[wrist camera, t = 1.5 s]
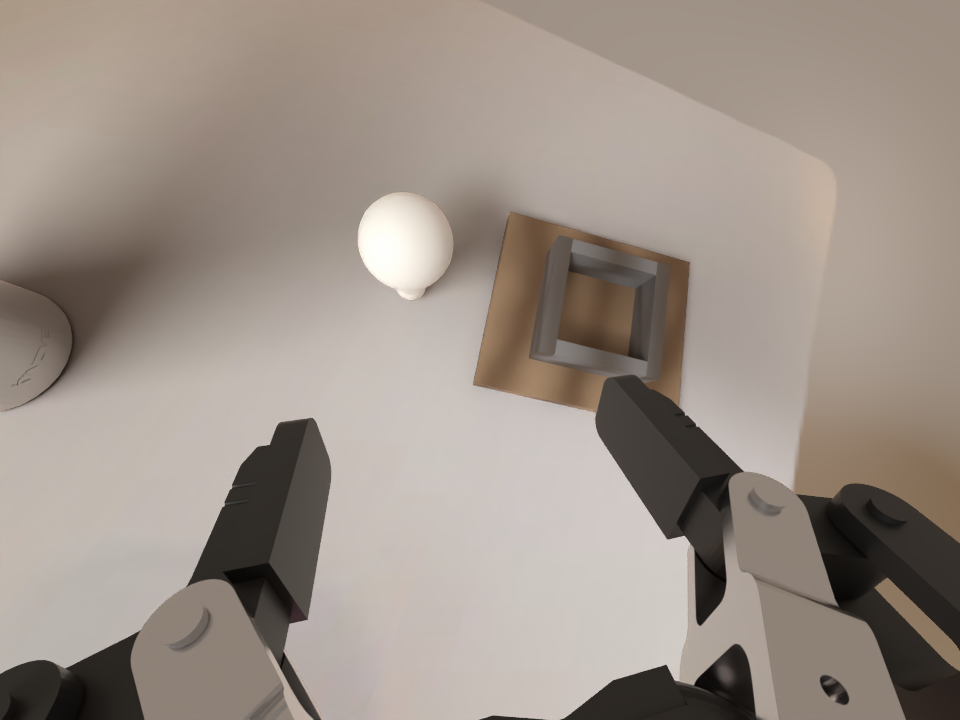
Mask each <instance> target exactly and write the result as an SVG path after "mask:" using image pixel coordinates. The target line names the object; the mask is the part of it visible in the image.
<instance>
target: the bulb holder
mask: <svg viewBox="0 0 960 720" xmlns="http://www.w3.org/2000/svg"><path fill="white" fill-rule="evenodd" d="M689 264H690V262H686V261H683V260H679V259H676V258H672V257H669V256H665V255H661V254H658V253H654V252H651V251H647V250H644V249H640V248H637V247H633V246H629V245H626V244H622V243H619V242H615V241H612V240H608V239H605V238H601V237H597V236H594V235H590V234H587V233H583V232H580V231H576V230H573V229H569V228H566V227H562V226H558V225H555V224H551V223H548V222H544V221H541V220H537V219H534V218H530V217H526V216H523V215H519V214H516V213H512V212H510V215H509V218H508V220H507V224H506V228H505V233H504V238H503V243H502V248H501V252H500V257H499V262H498V267H497V272H496V276H495V281H494V286H493V291H492V296H491V300H490V305H489V310H488V315H487V320H486V324H485V329H484V334H483V339H482V344H481V348H480V353H479V358H478V363H477V368H476V372H475V377H474V382H473V385H476V386H481V387H485V388H489V389H494V390H498V391H503V392H507V393H512V394H516V395H521V396H525V397H530V398H534V399H539V400H543V401H547V402H552V403H556V404H561V405H565V406H570V407H574V408H579V409H583V410H588V411H592V412H597V409H598V405H599V401H600V396H601V392H602V388H603V384H604V381H605V380H606V379H607V378H609V377H616V376H624V375H631V374H633V375H636V376H637V377H638V378H639V379H640V380H641V381H642V382H643V383H644V384H645V385H646V386H647V387H648V388H649V389H650V390H651V389H654V390H656V391H658V392H659V393H661V394H663V395H664V396H666V397H668V398H670V399H671V400H672V401H673V402H674V403H675V404H676V405H677V406H678V407H679V395H680V382H681V369H682V356H683V343H684V330H685V317H686V304H687V291H688V278H689Z"/></svg>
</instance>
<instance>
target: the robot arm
mask: <svg viewBox="0 0 960 720" xmlns="http://www.w3.org/2000/svg"><path fill="white" fill-rule="evenodd" d="M71 347H72V332H71V327H70V324H69V322H68V319H67V317H66V315H65V314H64V312H63V311H62V310H61V309H60V308H59V307H58V305H57V304H55V303H54V302H52V301H51V300H50V299H48V298H47V297H45V296H43V295H40V294H38V293H36V292H33V291H30V290H27V289H25V288H22V287H19V286H16V285H13V284H10V283H8V282H5V281H2V280H0V411H5V410H8V409H11V408H14V407H17V406H20V405H22V404H24V403H26V402H28V401H29V400H31V399H33V398H35V397H37V396H38V395H39V394H40V393H42V392H43V391H44V390H46V389H47V388H48V387H49V386H50V385H51V384H52V383H53V382H54V381H55V380H56V379H57V378H58V376H59V375H60V374H61V372H62V370H63V369H64V367H65V365H66V364H67V361H68V358H69V355H70V352H71ZM595 421H596V428H597V432H598V434H599V436H600V438H601V440H602V441H603V443H604V444H605V446H606V447H607V449H608V450H609V452H610V453H611V455H612V456H613V458H614V459H615V461H616V462H617V464H618V465H619V467H620V468H621V470H622V471H623V473H624V474H625V476H626V477H627V479H628V481H629V482H630V484H631V485H632V487H633V488H634V490H635V491H636V493H637V494H638V496H639V497H640V499H641V500H642V502H643V503H644V505H645V506H646V508H647V509H648V511H649V512H650V514H651V515H652V517H653V518H654V520H655V521H656V523H657V525H658V526H659V528H660V529H661V531H662V532H663V534H664V535H665V537H666V538H667V539H672V538H676V537H681V536H686V538H687V539H688V541H689V542H690V545H689V548H688V553H687V558H688V631H687V638H686V642H685V645H684V648H683V652H682V657H681V664H680V682H679V681H674V679H673V677H672V675H671V673H670V671H669V669H668V667H667V665H664V666H661V667H657V668H654V669H651V670H647V671H644V672H640V673H637V674H634V675H630V676H627V677H623V678H620V679H616V680H613V681H612V682H611V683H609V684H608V685H607V686H605V687H604V688H603V689H602V690H600V691H599V692H598V693H597V694H595V695H594V696H593V697H591V698H590V699H589V700H588V701H586V702H585V703H584V704H583V705H581V706H580V707H579V708H577V709H576V710H575V711H574V712H572V713H571V714H570V715H569V716H567V717H566V718H564V719H561V720H960V671H958V670H957V669H955V668H954V667H952V666H951V665H950V664H948V663H947V662H946V661H945V660H944V659H943V658H942V657H941V656H940V655H939V654H938V653H937V652H936V651H935V650H934V649H933V648H932V647H931V646H930V645H929V644H928V643H927V642H926V641H925V640H924V639H923V638H922V636H921V635H920V634H919V633H918V632H917V631H916V630H915V629H914V628H913V627H912V626H911V625H910V624H909V623H908V622H907V621H906V620H905V619H904V618H903V617H902V616H901V615H900V614H899V613H898V612H897V611H896V610H895V609H894V608H893V607H892V606H891V605H890V604H889V603H888V602H887V601H886V600H885V599H884V598H883V597H882V595H881V594H880V593H879V592H878V591H877V590H876V589H875V588H874V587H875V586H877V585H878V584H879V583H881V582H882V581H883V580H884V579H886V578H887V577H888V578H889V579H890V580H891V581H892V582H893V583H894V584H895V585H896V586H897V587H898V588H899V589H900V590H901V591H902V592H904V594H905V595H906V596H907V597H909V599H910V600H912V601H913V602H914V603H915V604H916V605H917V606H918V607H919V608H920V609H921V610H922V611H923V612H924V613H925V614H926V615H927V616H928V617H929V618H930V619H931V620H932V621H933V622H934V623H935V624H936V625H937V626H938V627H939V628H940V629H941V630H942V631H944V633H945V634H946V635H948V636H949V638H951V640H952V641H953V642H954V643H955V644H956V645H957V647H958V648H959V650H960V543H958V542H957V541H956V540H955V539H953V538H952V537H951V536H949V535H948V534H947V533H945V532H944V531H943V530H942V529H940V528H939V527H938V526H937V525H935V524H934V523H933V522H931V521H930V520H929V519H928V518H926V517H925V516H924V515H923V514H921V513H920V512H919V511H917V510H916V509H915V508H914V507H912V506H911V505H909V504H908V503H906V502H905V501H903V500H902V499H900V498H898V497H896V496H895V495H893V494H891V493H889V492H886V491H884V490H881V489H879V488H876V487H873V486H869V485H864V484H848V485H846V486H844V487H843V488H842V489H841V490H840V491H839V492H838V493H837V494H836V495H835V497H834V498H824V497H815V496H806V495H797V494H794V493H793V492H792V491H791V490H790V489H789V488H787V487H786V486H784V485H783V484H781V483H780V482H778V481H776V480H774V479H772V478H770V477H767V476H764V475H762V474H758V473H752V472H744V471H743V470H742V469H741V468H740V467H739V466H738V465H737V464H736V463H735V462H734V461H733V460H732V459H731V458H730V457H729V456H728V455H727V454H726V453H725V452H724V451H723V450H722V449H721V448H720V447H719V446H718V445H716V444H715V443H714V442H713V441H712V440H711V439H710V438H709V437H708V436H707V435H706V434H705V433H704V432H703V431H702V430H701V429H700V428H699V427H696V424H695V423H694V422H693V421H692V420H691V419H690V418H689V417H688V416H685V413H684V412H683V411H682V410H681V409H680V408H679V407H678V406H677V405H676V404H675V403H674V402H673V401H672V400H671V399H670V398H668V397H666V396H664V395H663V394H661V393H659V392H658V391H656V390H654V389H651V390H650V389H649V388H648V387H647V386H646V385H645V384H644V383H643V382H642V381H641V380H640V379H639V378H638V377H637V376H636V375H633V374H631V375H624V376H616V377H609V378H607V379H606V380H605V381H604V384H603V388H602V392H601V396H600V401H599V405H598V409H597V413H596V419H595ZM330 483H331V465H330V460H329V456H328V453H327V451H326V448H325V445H324V443H323V440H322V437H321V434H320V432H319V429H318V426H317V424H316V422H315V420H314V419H313V418H308V419H301V420H294V421H286V422H281V423H279V424H278V425H277V427H276V430H275V433H274V435H273V438H272V441H271V443H270V445H267V446H260V447H257V448H256V449H255V450H254V451H253V452H252V454H251V455H250V456H249V457H248V458H247V459H246V460H245V461H244V462H243V463H242V465H241V466H240V468H239V471H238V473H237V475H236V477H235V480H234V482H233V484H232V489H231V490H230V491H229V493H228V496H227V498H226V500H225V506H224V507H222V509H221V512H220V514H219V516H218V518H217V521H216V523H215V525H214V528H213V530H212V532H211V534H210V537H209V539H208V541H207V544H206V546H205V548H204V550H203V553H202V555H201V557H200V560H199V562H198V564H197V566H196V569H195V571H194V573H193V576H192V578H191V580H190V581H189V583H188V585H187V586H186V588H184V589H182V590H180V591H179V592H177V593H176V594H174V595H173V596H172V597H170V598H169V599H168V600H166V601H165V602H164V603H163V604H162V605H161V606H160V607H159V608H158V609H157V610H156V611H155V612H154V613H153V614H152V615H151V616H150V618H149V619H148V620H147V622H146V623H145V624H144V626H143V627H142V629H141V630H140V631H139V632H137V633H135V634H133V635H131V636H130V637H128V638H126V639H124V640H122V641H120V642H118V643H116V644H114V645H112V646H110V647H108V648H106V649H104V650H102V651H100V652H98V653H96V654H94V655H92V656H90V657H88V658H86V659H84V660H82V661H80V662H78V663H76V664H74V665H72V666H70V667H68V668H66V669H65V668H63V667H61V666H59V665H57V664H55V663H53V662H50V661H46V660H36V661H31V662H27V663H24V664H21V665H18V666H16V667H13V668H11V669H9V670H7V671H5V672H3V673H1V674H0V720H325V719H324V718H323V716H322V714H321V712H320V710H319V709H318V707H317V705H316V703H315V701H314V700H313V698H312V696H311V694H310V692H309V691H308V689H307V687H306V685H305V684H304V682H303V680H302V678H301V676H300V675H299V673H298V671H297V669H296V667H295V666H294V664H293V662H292V660H291V658H290V657H289V655H288V653H287V651H286V650H285V648H284V647H285V642H286V637H287V632H288V627H289V624H290V623H294V622H299V621H303V620H308V614H309V608H310V602H311V596H312V590H313V584H314V578H315V572H316V566H317V560H318V554H319V548H320V542H321V536H322V531H323V525H324V519H325V513H326V507H327V501H328V495H329V489H330ZM480 720H543V719H530V718H517V717H504V716H490V717H487V718H483V719H480Z"/></svg>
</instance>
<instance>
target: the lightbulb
mask: <svg viewBox="0 0 960 720" xmlns="http://www.w3.org/2000/svg"><path fill="white" fill-rule="evenodd" d="M358 247H359V252H360V255H361V257H362V260H363V262H364V264H365V266H366V267H367V269H368V270H369V271H370V273H371V274H373V275H374V276H375V277H376V278H377V279H378V280H379V281H380V282H382V283H384V284H385V285H387V286H389V287H392V288H394V289H396V290H397V292H398V293H399V295H400V296H401V297H403V298H405V299H408V300H415V299H418V298H420V297H421V296H422V295H423V294H424V292H425V289H426V287H428V286H430V285H431V284H433V283H435V282H436V281H437V280H438V279H439V278H440V277H441V276H442V275H443V274H444V272H445V271H446V269H447V268H448V266H449V264H450V262H451V259H452V254H453V248H454V243H453V235H452V231H451V227H450V225H449V223H448V221H447V219H446V217H445V215H444V214H443V212H442V211H441V210H440V209H439V208H438V207H437V206H436V205H435V204H434V203H433V202H431V201H430V200H428V199H426V198H425V197H422V196H420V195H418V194H414V193H409V192H397V193H391V194H388V195H385V196H383V197H381V198H380V199H378V200H376V201H375V202H374V203H373V204H371V205H370V207H369V208H368V209H367V210H366V211H365V213H364V215H363V217H362V220H361V222H360V226H359V230H358Z"/></svg>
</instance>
